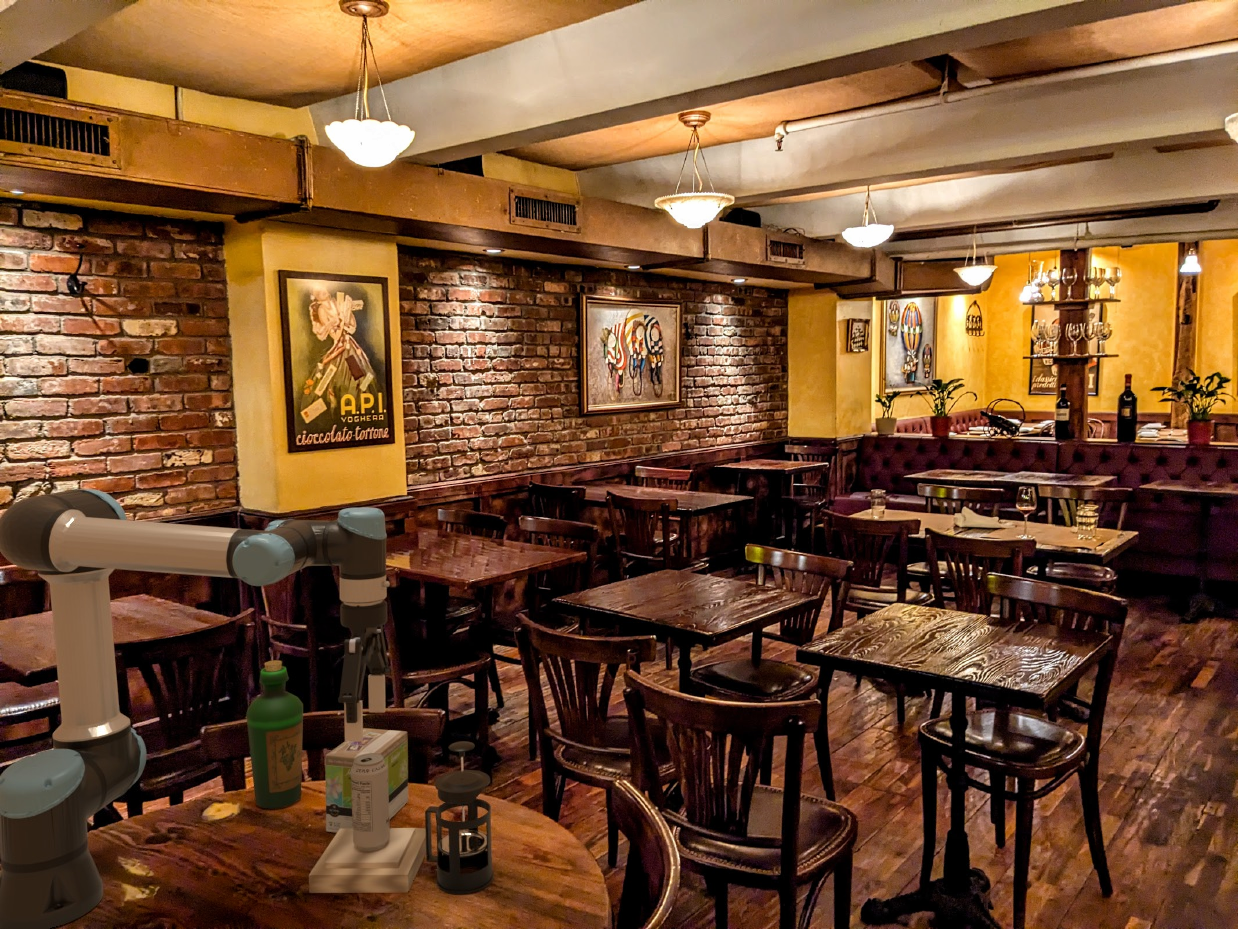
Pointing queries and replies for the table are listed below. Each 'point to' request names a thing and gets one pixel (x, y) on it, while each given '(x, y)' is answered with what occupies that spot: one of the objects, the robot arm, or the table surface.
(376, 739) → the tea box
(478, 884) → the french press
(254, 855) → the table surface
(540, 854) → the table surface
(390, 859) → the birch base
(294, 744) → the bottle
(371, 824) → the energy drink can
